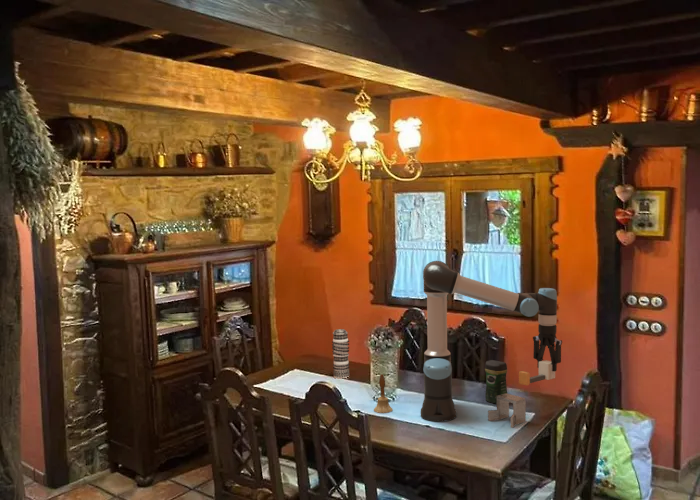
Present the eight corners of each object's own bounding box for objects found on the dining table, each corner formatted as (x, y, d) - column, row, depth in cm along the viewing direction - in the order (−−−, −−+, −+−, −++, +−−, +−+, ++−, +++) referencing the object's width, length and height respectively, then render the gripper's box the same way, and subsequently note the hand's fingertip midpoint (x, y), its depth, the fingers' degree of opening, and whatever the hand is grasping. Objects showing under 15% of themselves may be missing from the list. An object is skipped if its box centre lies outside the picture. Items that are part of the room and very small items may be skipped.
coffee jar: (510, 401, 301) (510, 361, 299) (499, 405, 296) (499, 364, 295) (493, 397, 308) (493, 357, 307) (482, 400, 303) (481, 360, 302)
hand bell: (386, 414, 288) (386, 377, 287) (370, 411, 292) (369, 375, 291) (396, 409, 295) (395, 373, 294) (379, 406, 299) (378, 371, 298)
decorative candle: (350, 379, 348) (348, 331, 346) (332, 379, 348) (331, 331, 346) (350, 374, 357) (349, 328, 355) (333, 374, 357) (331, 328, 355)
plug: (527, 385, 278) (527, 369, 278) (517, 383, 282) (518, 366, 282) (555, 378, 290) (555, 362, 289) (545, 375, 294) (545, 360, 293)
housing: (512, 428, 266) (512, 404, 266) (487, 420, 276) (487, 397, 276) (528, 422, 272) (528, 399, 272) (503, 415, 283) (503, 392, 282)
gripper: (570, 326, 284) (570, 379, 285) (535, 320, 298) (534, 371, 300) (560, 328, 279) (559, 382, 281) (524, 322, 293) (524, 374, 295)
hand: (546, 377), depth 290 cm, fingers closed on plug, 5 cm apart
